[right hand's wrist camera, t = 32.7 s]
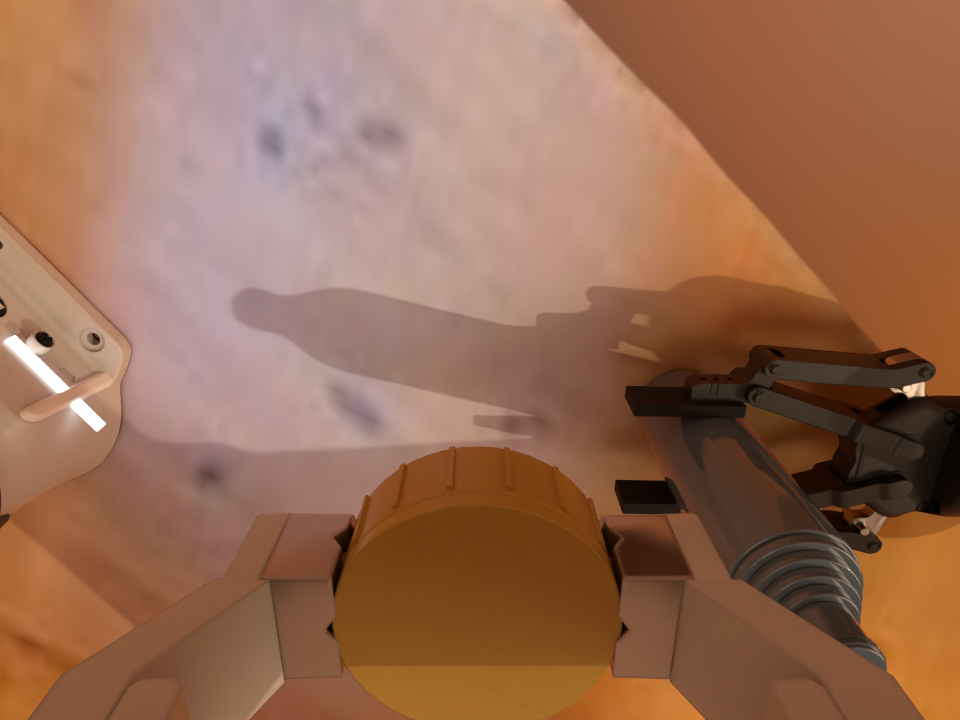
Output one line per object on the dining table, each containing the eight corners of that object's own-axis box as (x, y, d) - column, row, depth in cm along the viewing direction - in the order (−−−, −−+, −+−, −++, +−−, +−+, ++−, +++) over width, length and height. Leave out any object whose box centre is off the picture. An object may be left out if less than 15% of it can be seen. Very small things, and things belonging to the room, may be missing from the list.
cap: (342, 441, 10) (318, 500, 8) (616, 445, 10) (641, 505, 8) (356, 651, 11) (338, 732, 10) (593, 654, 11) (611, 734, 10)
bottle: (733, 377, 45) (960, 627, 24) (705, 452, 47) (890, 741, 26) (649, 362, 45) (804, 602, 23) (625, 438, 47) (747, 720, 26)
